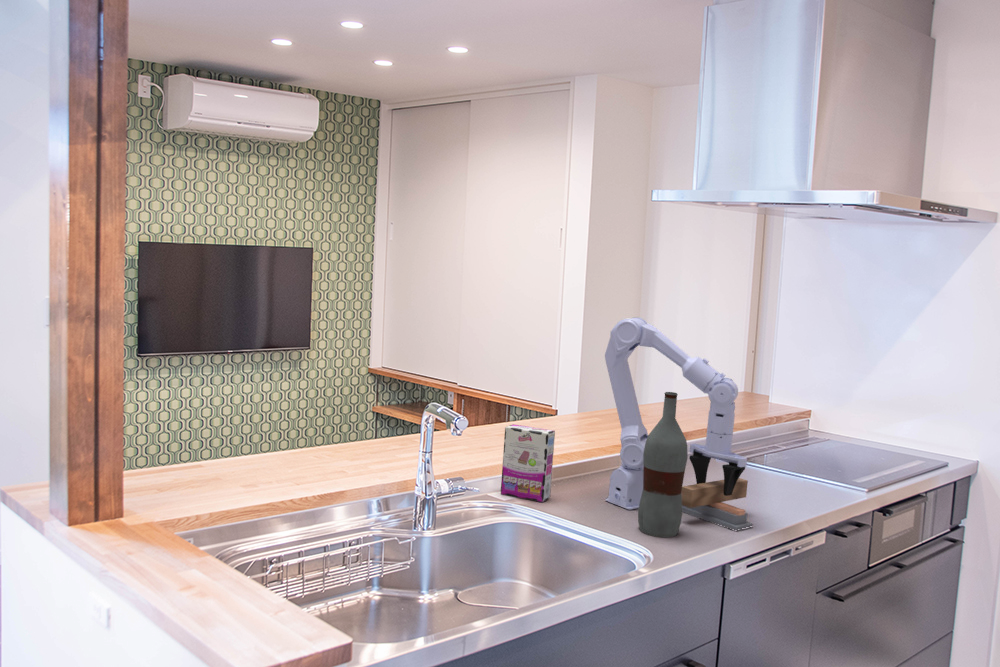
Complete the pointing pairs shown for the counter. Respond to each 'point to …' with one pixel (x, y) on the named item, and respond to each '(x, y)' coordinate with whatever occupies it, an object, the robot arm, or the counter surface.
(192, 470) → the counter surface
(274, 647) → the counter surface
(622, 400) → the robot arm
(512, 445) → the candy bar box
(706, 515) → the stand
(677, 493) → the bottle
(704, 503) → the walnut bar
